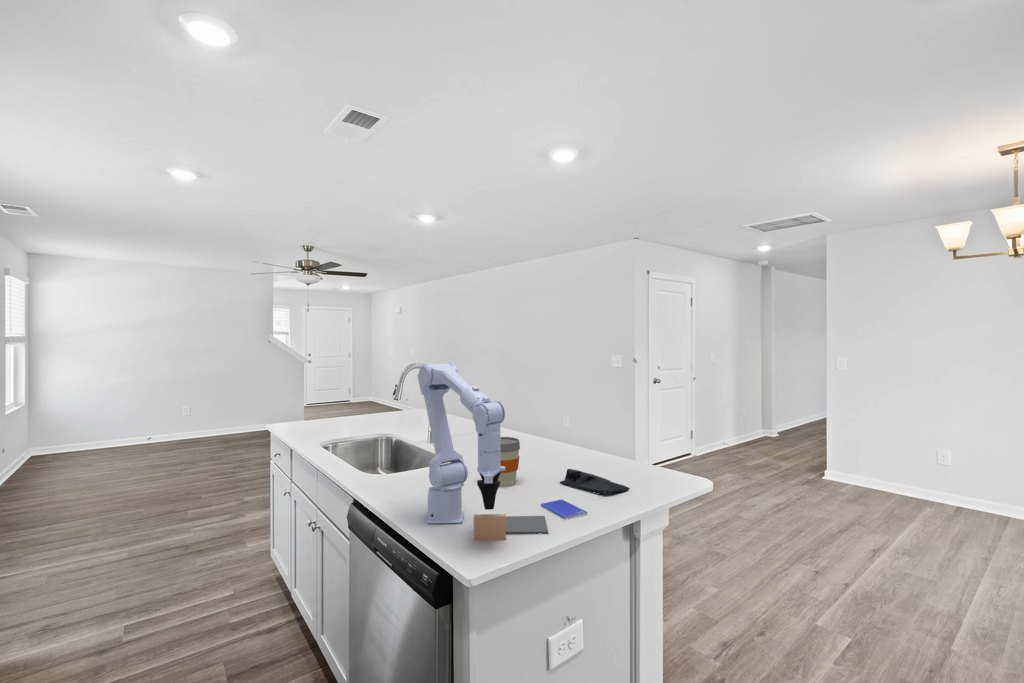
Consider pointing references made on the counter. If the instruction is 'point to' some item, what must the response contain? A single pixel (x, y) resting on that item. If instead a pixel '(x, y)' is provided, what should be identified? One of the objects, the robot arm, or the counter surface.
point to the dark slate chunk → (591, 482)
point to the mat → (526, 525)
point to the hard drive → (563, 509)
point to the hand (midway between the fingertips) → (489, 503)
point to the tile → (490, 527)
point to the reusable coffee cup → (509, 460)
